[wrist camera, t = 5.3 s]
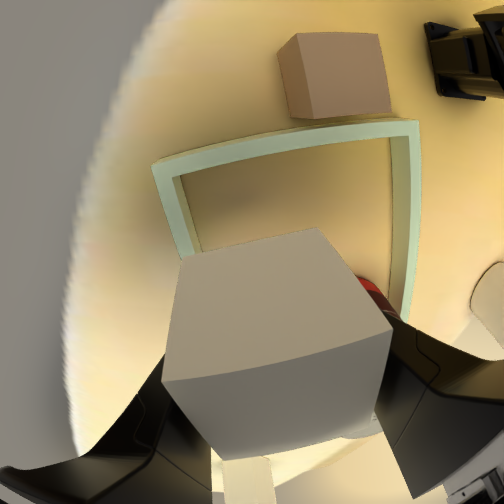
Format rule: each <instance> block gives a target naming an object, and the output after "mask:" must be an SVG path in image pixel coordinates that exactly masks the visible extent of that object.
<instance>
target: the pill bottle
mask: <svg viewBox="0 0 504 504" xmlns="http://www.w3.org/2000/svg"><path fill="white" fill-rule="evenodd" d="M471 310H472V312H473V313H474V315H475V316H476V317H477V318H478V319H479V320H480V321H481V323H482V324H483V325H484V326H485V327H486V328H487V330H488V331H489V332H490V333H491V334H492V336H493V337H494V338H495V339H496V340H497V342H498V343H499V344H500V345H501V346H502V348H503V349H504V263H497V264H495V265H494V266H492V267H491V268H490V269H489V270H488V271H487V272H486V273H485V274H484V276H483V277H482V278H481V280H480V281H479V283H478V285H477V286H476V288H475V290H474V293H473V295H472V299H471Z"/></svg>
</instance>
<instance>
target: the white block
mask: <svg viewBox="0 0 504 504" xmlns="http://www.w3.org/2000/svg"><path fill="white" fill-rule="evenodd" d="M392 333H393V328H392V326H391V325H390V323H389V322H388V320H387V319H386V318H385V316H384V315H383V313H382V312H381V310H380V309H379V308H378V306H377V305H376V303H375V302H374V301H373V299H372V298H371V297H370V295H369V294H368V292H367V291H366V290H365V288H364V287H363V286H362V284H361V283H360V282H359V280H358V279H357V278H356V276H355V275H354V274H353V272H352V271H351V270H350V268H349V267H348V266H347V264H346V263H345V262H344V260H343V259H342V258H341V257H340V255H339V254H338V253H337V251H336V250H335V249H334V248H333V246H332V245H331V244H330V243H329V241H328V240H327V239H326V238H325V236H324V235H323V234H322V233H321V231H320V230H319V229H318V228H317V227H316V228H311V229H306V230H302V231H297V232H293V233H288V234H283V235H279V236H274V237H270V238H265V239H261V240H256V241H252V242H247V243H243V244H238V245H234V246H229V247H225V248H220V249H216V250H211V251H207V252H203V253H198V254H194V255H189V256H185V257H183V258H182V263H181V268H180V272H179V277H178V282H177V288H176V293H175V298H174V304H173V309H172V315H171V321H170V327H169V333H168V339H167V345H166V352H165V359H164V366H163V373H162V380H161V382H162V384H163V385H164V387H165V388H166V389H167V391H168V392H169V394H170V395H171V396H172V398H173V399H174V401H175V402H176V403H177V405H178V406H179V407H180V409H181V410H182V411H183V413H184V414H185V415H186V417H187V418H188V419H189V420H190V422H191V423H192V424H193V426H194V427H195V428H196V429H197V431H198V432H199V433H200V434H201V435H202V437H203V438H204V439H205V440H206V441H207V443H208V444H209V445H210V446H211V447H212V448H213V450H214V451H215V452H216V453H217V454H218V455H219V456H220V458H221V459H222V460H223V461H228V460H236V459H244V458H251V457H257V456H263V455H269V454H274V453H279V452H284V451H289V450H294V449H298V448H302V447H306V446H310V445H314V444H318V443H322V442H325V441H329V440H332V439H335V438H339V437H342V436H345V435H348V434H351V433H354V432H357V431H360V430H363V429H366V428H368V426H369V423H370V420H371V417H372V414H373V410H374V407H375V404H376V400H377V397H378V393H379V389H380V386H381V382H382V378H383V374H384V370H385V366H386V362H387V357H388V353H389V348H390V343H391V338H392Z"/></svg>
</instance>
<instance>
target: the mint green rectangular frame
mask: <svg viewBox="0 0 504 504" xmlns="http://www.w3.org/2000/svg"><path fill="white" fill-rule="evenodd" d="M384 137H390V146H391V159H392V179H393V240H392V261H391V275H390V287H389V297H388V302H389V303H390V304H391V306H392V307H393V308H394V310H395V311H396V312H397V314H398V315H399V316H400V318H401V319H402V320H403V322H405V323H407V322H408V317H409V311H410V306H411V300H412V294H413V288H414V281H415V273H416V265H417V257H418V247H419V235H420V219H421V145H420V130H419V120H413V119H406V118H380V119H366V120H354V121H344V122H335V123H327V124H319V125H311V126H304V127H298V128H291V129H285V130H279V131H274V132H268V133H263V134H258V135H253V136H248V137H243V138H238V139H234V140H229V141H225V142H221V143H217V144H212V145H208V146H204V147H200V148H197V149H193V150H189V151H185V152H182V153H178V154H175V155H171V156H168V157H164V158H161V159H159V160H157V161H156V162H155V163H154V164H152V165H151V170H152V173H153V176H154V180H155V183H156V186H157V189H158V193H159V196H160V199H161V202H162V205H163V208H164V212H165V215H166V218H167V221H168V224H169V227H170V230H171V233H172V236H173V238H174V241H175V244H176V247H177V250H178V253H179V256H180V258H181V261H182V258H183V257H185V256H189V255H194V254H198V253H203V252H202V249H201V246H200V243H199V240H198V236H197V233H196V230H195V227H194V223H193V220H192V217H191V213H190V210H189V207H188V203H187V200H186V196H185V193H184V189H183V186H182V182H181V179H180V175H183V174H187V173H190V172H194V171H198V170H202V169H206V168H210V167H214V166H218V165H222V164H226V163H231V162H235V161H239V160H244V159H249V158H253V157H258V156H263V155H268V154H273V153H278V152H284V151H289V150H295V149H301V148H307V147H313V146H319V145H326V144H333V143H340V142H348V141H356V140H365V139H374V138H384Z"/></svg>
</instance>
